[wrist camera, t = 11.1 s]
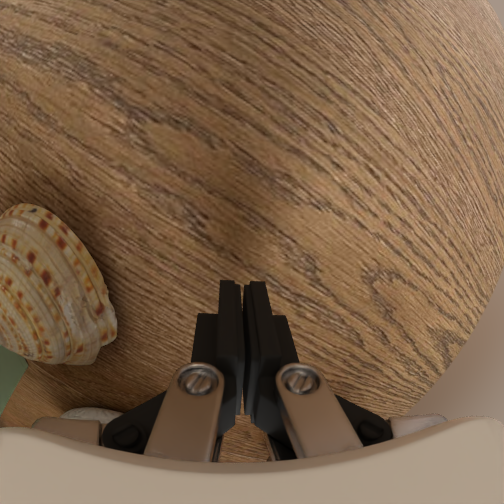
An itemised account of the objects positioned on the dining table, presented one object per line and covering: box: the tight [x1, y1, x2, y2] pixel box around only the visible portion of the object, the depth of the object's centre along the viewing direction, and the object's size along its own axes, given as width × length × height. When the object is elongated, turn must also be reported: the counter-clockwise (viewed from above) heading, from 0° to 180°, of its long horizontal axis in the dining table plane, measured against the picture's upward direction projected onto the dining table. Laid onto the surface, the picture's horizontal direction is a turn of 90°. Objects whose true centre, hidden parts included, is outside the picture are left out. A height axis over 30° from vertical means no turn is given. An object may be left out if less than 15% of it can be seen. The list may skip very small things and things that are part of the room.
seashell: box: [0, 203, 117, 365], centre depth 10 cm, size 8×6×8 cm
